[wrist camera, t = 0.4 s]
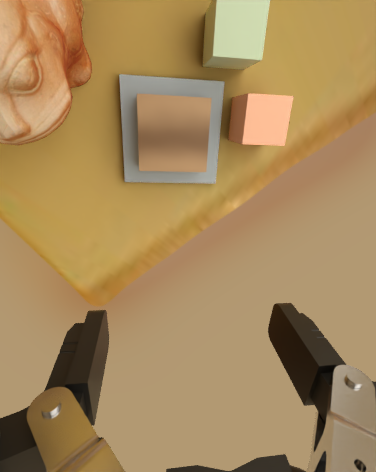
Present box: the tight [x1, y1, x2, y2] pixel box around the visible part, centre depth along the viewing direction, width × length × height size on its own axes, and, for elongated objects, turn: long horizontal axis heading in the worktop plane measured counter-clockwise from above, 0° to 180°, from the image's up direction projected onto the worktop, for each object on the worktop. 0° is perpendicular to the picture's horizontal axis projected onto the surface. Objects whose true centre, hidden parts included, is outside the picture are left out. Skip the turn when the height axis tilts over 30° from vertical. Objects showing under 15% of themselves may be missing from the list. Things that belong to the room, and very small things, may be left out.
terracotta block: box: [228, 93, 294, 146], centre depth 31 cm, size 5×5×6 cm
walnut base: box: [137, 93, 212, 172], centre depth 31 cm, size 8×8×3 cm
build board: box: [119, 74, 224, 183], centre depth 33 cm, size 12×12×1 cm
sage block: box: [202, 0, 270, 70], centre depth 28 cm, size 5×5×6 cm
